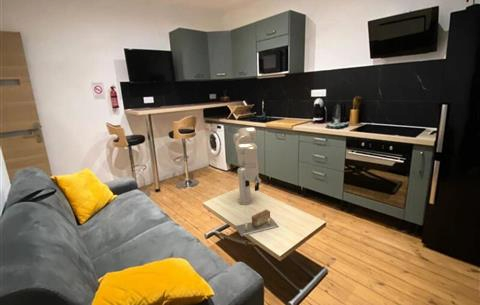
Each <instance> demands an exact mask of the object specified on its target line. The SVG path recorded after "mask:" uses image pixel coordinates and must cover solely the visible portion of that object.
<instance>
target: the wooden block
mask: <svg viewBox="0 0 480 305" xmlns="http://www.w3.org/2000/svg"><path fill="white" fill-rule="evenodd" d="M268 218H271V211H270V210H269V209H264V210H262V211H259V212H258V213H255V214H254V215H252V216H251V222H252V227H254V228H255V229H257V228H258V227H260V226H262V225H264V224H266V223H268Z"/></svg>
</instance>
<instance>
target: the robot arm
mask: <svg viewBox="0 0 480 305" xmlns="http://www.w3.org/2000/svg"><path fill="white" fill-rule="evenodd" d="M257 134H258V132H257V130H256V128H255V127H252V126H251V127H241V128H239V129H238V131H237V133H234V134H233V139H232V140H233V143H234V145H235V151H236V153H237V161H238V164H239V165H240V167H238V168H237V176H238V177H237V178H238V186H239V199H238V200H237V201H238V202H237V203H239V204H240V205H243V206H246V205H250V204H252V203H253V201H254V200H253V198H252V195H251V194H252V193H251V191H252V190H251V189H252V188H251V184H253V183H254V191H255V192H257V191H260V190H259V189H260V184H261V183H262V179H261V178H260V177H259V165H258V155H257V153H258V146H257V144H256V143H254V142H255V141H256V138H257Z"/></svg>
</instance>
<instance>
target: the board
mask: <svg viewBox="0 0 480 305" xmlns="http://www.w3.org/2000/svg"><path fill="white" fill-rule="evenodd" d="M235 228H236V230H237V231H238V233H239V235H240V236H241V237H244V236H245V237H246V236H248V235H253V234H256V233H260V232H261V233H262V232H265V231H268V230H273V229H277V228H280V226H279V225H278V224H277V222H275V220H274V219H273V218H272V217H270V218H268V223H266V224H264V225H262V226H260V227H258V228H257V229H255V228H254V227H252V221H250V222H246V223H243V224H238V225H235Z"/></svg>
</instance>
